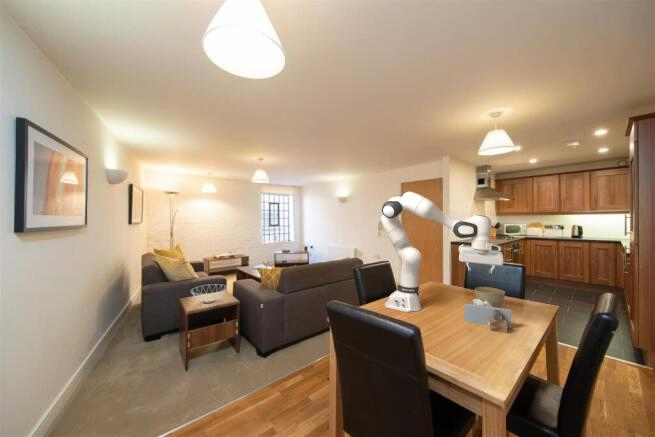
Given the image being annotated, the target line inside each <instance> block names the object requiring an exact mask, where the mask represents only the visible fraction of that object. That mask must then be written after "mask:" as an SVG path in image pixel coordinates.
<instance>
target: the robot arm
mask: <svg viewBox="0 0 655 437" xmlns="http://www.w3.org/2000/svg"><path fill="white" fill-rule="evenodd" d="M404 211H409V212H410V213H413V215H416V216H418V217H420V218H423V219H426V220H432V221H435V222H438V223H440V224H441V225H444V226H445V227H446V228H448V229H449V230H451V231H452V232H453V234H454V236H456V237H457V238H459V239H468V238H471V244H464V243H463V244H461V245H459V246H458V252H459V255H458V261H459V262H460V263H461V262H462V263H463V262H464V263H465V265H466V267H467V271H468V272H469V271H470V272H471V271H472V267H471V266H470V263H472V264H473V263H474V264H482V265H490V266H491V268H489V269H488V274H493V270H494V269H495V268H496V266H504V260H505V259H504V255H503V252H502V251H501V250H502V247H501V246H500V245H497V244H495V243H492V239H491V235H492V231H493V230H492V229H493V228H492V227H493V225H492V219H491V218H490V217H489V216H486V215H482V214H474V215H473V216H471V217H469V218H466V219H456V218H455V217H452V216H451V215H449V214H447V213H446V212H444V211H442V210H441V209H440V208H439V207H438V206H437V205H436V204H435V203H434V202H433V201H432V200H430V199H428V198H427V197H425V196H423V195H421V194H420V193H419V194H418V193H416V192H413V191H406V192H405V193H403V194H397V195H394V196H392V197H391V198H389V199H388V200H387V201H386V202H384V203H383V204H382V208H381V213H382V215H381V217H380V221H381V225H382V227H383V229H384V231H385V233H386V234H387V236H388V238H389V240H390V243H392V246H393V248H394V251H395V253H396V255H397V256H398V259H399V260H401V269H400V272H399V279H400V280H399V281H400V282H399V283H398V284H397V286H396V290H394V292H392V293H390V295H389V297H388V300H387V301H385V303H384V307H385V308H386V309H390V310H391V309H392V310H396V311H399V312H405V313H410V312H418V311H421V310H422V306H421V300H420V286H419V272H420V266H421V262H422V260H423V259H422V258H423V256H422V253H421V252H420V250H418V248H416V247H414V246H413V245H412V243H411V241H410V238H409V235H408V233H407V231H406V230H405V227H404V226H403V224H402V223H401V220H400V218H399V215H401V214H402V213H403V212H404Z"/></svg>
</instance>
